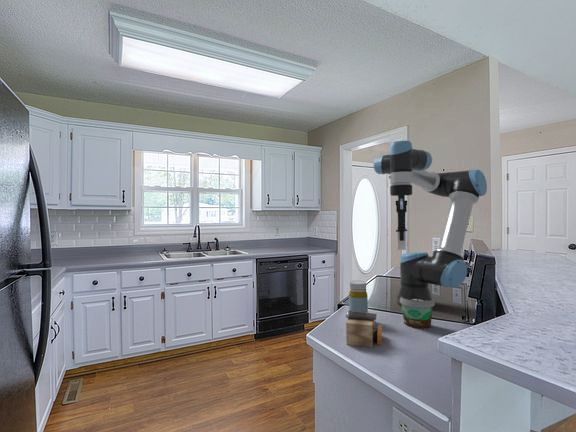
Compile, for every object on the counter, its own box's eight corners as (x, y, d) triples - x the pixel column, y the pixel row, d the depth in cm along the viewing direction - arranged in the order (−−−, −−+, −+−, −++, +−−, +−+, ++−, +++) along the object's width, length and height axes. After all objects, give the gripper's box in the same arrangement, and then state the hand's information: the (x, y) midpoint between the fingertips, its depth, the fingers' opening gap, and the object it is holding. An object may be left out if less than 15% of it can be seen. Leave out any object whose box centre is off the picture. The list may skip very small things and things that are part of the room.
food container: (399, 327, 115) (399, 300, 115) (399, 321, 121) (399, 295, 121) (436, 331, 111) (436, 303, 111) (435, 325, 117) (434, 298, 117)
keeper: (376, 316, 107) (376, 312, 107) (375, 321, 102) (375, 317, 102) (347, 313, 110) (347, 310, 110) (345, 317, 106) (345, 314, 106)
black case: (382, 336, 108) (381, 325, 108) (381, 345, 101) (381, 333, 101) (348, 333, 111) (348, 322, 111) (346, 341, 104) (345, 329, 104)
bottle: (368, 324, 119) (367, 284, 119) (349, 323, 121) (348, 284, 120) (367, 317, 126) (366, 280, 126) (349, 317, 127) (348, 280, 127)
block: (374, 333, 111) (374, 313, 111) (372, 347, 99) (371, 325, 99) (351, 330, 113) (351, 311, 113) (346, 344, 102) (346, 322, 102)
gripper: (390, 186, 122) (391, 247, 123) (389, 183, 110) (390, 251, 111) (411, 185, 120) (412, 247, 120) (413, 182, 108) (413, 252, 108)
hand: (401, 249), depth 115 cm, fingers closed
